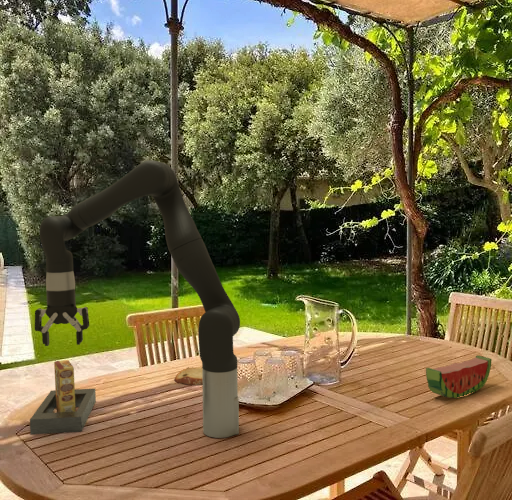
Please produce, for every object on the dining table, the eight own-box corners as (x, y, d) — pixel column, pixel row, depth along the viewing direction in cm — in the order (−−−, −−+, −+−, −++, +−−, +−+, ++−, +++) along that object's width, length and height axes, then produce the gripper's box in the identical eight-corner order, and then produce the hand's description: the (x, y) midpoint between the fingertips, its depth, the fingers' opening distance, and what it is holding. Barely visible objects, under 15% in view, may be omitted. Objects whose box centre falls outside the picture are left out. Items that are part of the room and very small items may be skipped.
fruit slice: (439, 405, 156) (440, 373, 155) (422, 399, 161) (423, 367, 160) (492, 389, 170) (493, 359, 169) (475, 383, 175) (476, 354, 175)
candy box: (76, 420, 146) (74, 366, 145) (60, 423, 144) (58, 369, 143) (70, 410, 154) (68, 358, 152) (55, 412, 152) (53, 361, 150)
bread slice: (241, 376, 185) (241, 365, 185) (211, 391, 170) (211, 380, 169) (200, 368, 194) (200, 358, 194) (169, 382, 179) (168, 371, 178)
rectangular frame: (95, 401, 161) (95, 388, 160) (81, 431, 139) (81, 416, 139) (51, 403, 159) (51, 390, 159) (30, 434, 137) (29, 419, 137)
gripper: (30, 290, 141) (32, 349, 143) (84, 288, 143) (86, 347, 144) (37, 286, 149) (40, 342, 150) (89, 285, 151) (91, 340, 152)
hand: (63, 344), depth 147 cm, fingers open, 8 cm apart
